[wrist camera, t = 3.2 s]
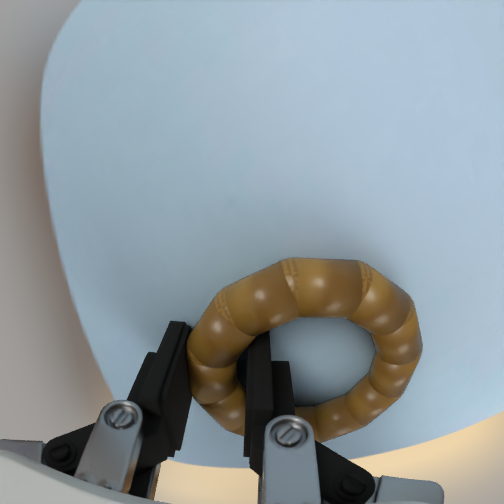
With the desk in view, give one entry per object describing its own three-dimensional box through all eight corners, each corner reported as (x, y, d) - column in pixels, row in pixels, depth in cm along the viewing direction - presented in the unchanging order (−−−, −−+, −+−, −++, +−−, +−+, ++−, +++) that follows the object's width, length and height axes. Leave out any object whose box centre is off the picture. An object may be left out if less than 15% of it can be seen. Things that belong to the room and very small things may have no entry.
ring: (200, 418, 13) (194, 447, 11) (184, 244, 10) (170, 267, 8) (375, 415, 13) (384, 441, 11) (433, 255, 10) (459, 276, 8)
